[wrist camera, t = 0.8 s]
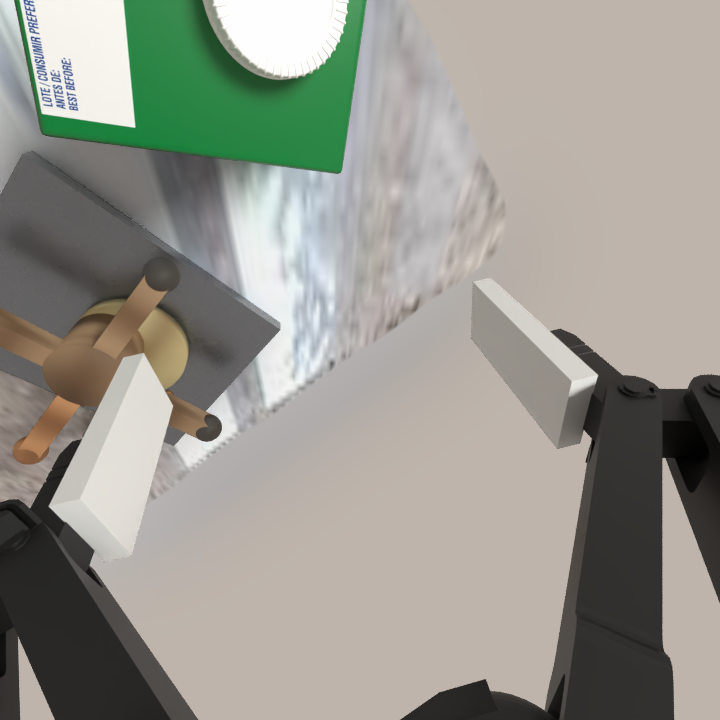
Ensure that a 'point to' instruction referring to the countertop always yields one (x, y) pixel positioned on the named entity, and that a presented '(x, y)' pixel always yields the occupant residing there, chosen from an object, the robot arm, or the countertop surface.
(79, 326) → the capstan
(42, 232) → the stand
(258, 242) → the countertop surface
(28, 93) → the countertop surface
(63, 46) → the milk carton
